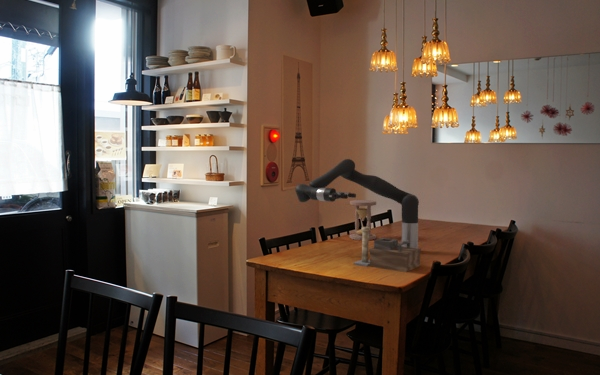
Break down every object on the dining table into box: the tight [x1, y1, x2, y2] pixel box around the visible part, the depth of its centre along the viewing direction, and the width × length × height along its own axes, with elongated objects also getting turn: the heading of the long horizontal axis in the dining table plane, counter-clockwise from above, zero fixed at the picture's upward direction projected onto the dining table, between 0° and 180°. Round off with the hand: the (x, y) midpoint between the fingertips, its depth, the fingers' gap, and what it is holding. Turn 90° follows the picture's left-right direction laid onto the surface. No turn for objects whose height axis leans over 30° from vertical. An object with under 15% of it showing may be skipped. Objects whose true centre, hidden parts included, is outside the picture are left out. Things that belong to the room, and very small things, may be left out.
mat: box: [353, 259, 370, 267], centre depth 268 cm, size 10×8×1 cm
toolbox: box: [368, 237, 422, 273], centre depth 262 cm, size 17×21×13 cm
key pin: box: [361, 226, 370, 263], centre depth 268 cm, size 4×4×18 cm
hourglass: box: [349, 199, 377, 241], centre depth 347 cm, size 18×18×25 cm
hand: (351, 196), depth 280 cm, fingers open, 8 cm apart
